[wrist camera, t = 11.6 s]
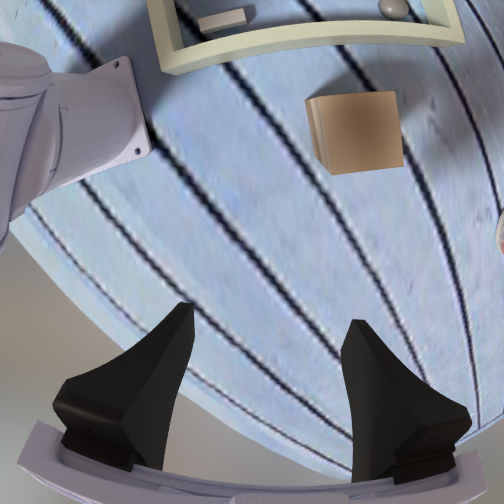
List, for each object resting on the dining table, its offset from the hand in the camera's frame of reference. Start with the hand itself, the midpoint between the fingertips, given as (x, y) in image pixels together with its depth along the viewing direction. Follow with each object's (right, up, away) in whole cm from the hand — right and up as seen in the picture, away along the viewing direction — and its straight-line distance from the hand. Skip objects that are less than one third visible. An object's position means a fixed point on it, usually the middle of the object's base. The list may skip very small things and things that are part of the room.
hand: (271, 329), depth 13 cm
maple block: (+5, +12, +5) cm, 14 cm away
